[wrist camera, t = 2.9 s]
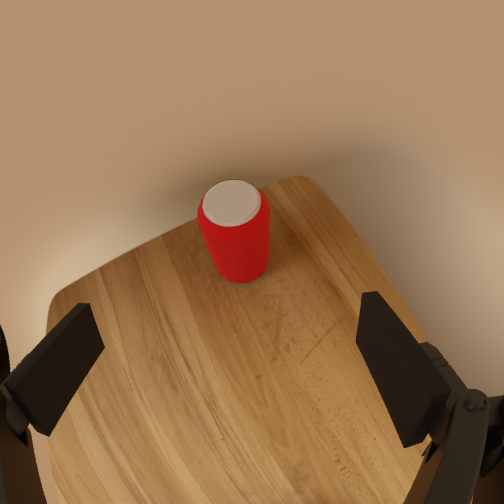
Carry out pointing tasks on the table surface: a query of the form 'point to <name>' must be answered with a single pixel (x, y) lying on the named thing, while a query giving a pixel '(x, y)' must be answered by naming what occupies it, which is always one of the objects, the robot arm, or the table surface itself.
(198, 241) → the table surface
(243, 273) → the beverage can
